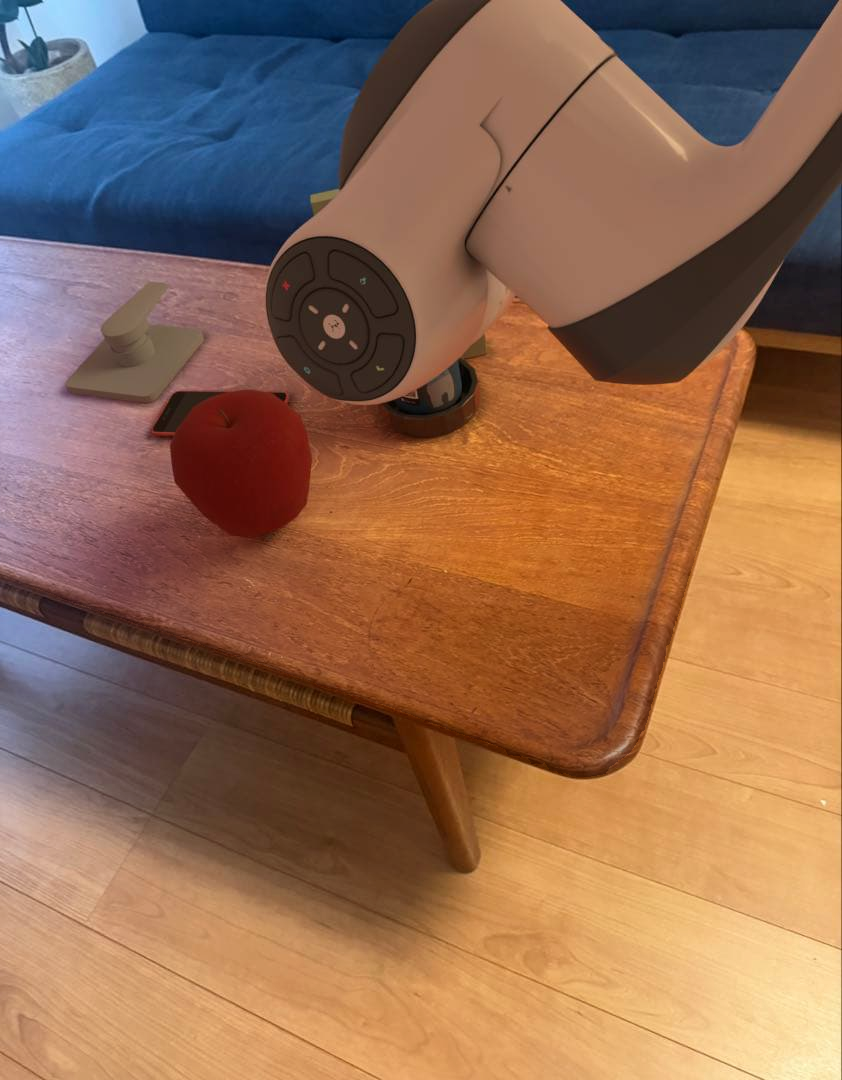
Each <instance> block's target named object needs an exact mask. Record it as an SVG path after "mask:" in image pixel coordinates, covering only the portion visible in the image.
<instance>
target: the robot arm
mask: <svg viewBox="0 0 842 1080" xmlns="http://www.w3.org/2000/svg"><path fill="white" fill-rule="evenodd" d="M618 56H619V55H618V54H617V53H616V50H615V49H614V48H613V47H611V46H610V45H608V44H607V43H606V42H605V41H603V39H601V36H600V35H598V33H596V32H595V31H594V30H593V29H592V28H591V27H590V26H589V25H588V24H586V22H585V21H583V19H582V18H580V17H579V16H578V15H577V14H576V13H575V12H574V11H572V10H571V9H570V7H568V6H567V5H566V4H565V3H564V2H563V1H562V0H431V1H430V2H429V3H428V4H426V5H425V6H424V7H422V8H421V9H420V10H418V11H417V12H416V13H415V14H414V15H413V16H412V17H411V18H410V19H409V20H408V21H407V22H406V23H405V25H403V27H402V28H401V29H400V30H399V31H398V32H397V34H396V35H395V36H394V38H393V39H392V40H391V42H390V43H389V44H388V45H387V47H386V48H385V50H384V51H383V53H382V55H381V56H380V57H379V59H378V60H377V62H376V63H375V65H374V66H373V69H372V70H371V71H370V73H369V74H368V77H367V78H366V80H365V82H364V83H363V85H362V87H361V89H360V91H359V93H358V95H357V98H356V99H355V102H354V104H353V106H352V109H351V111H350V114H349V115H348V118H347V120H346V123H345V126H344V129H343V133H342V138H341V147H340V153H339V162H338V173H337V175H338V176H337V177H338V178H337V181H338V189H339V190H340V192H339V193H338V194H337V195H336V196H335V197H334V198H333V199H332V200H331V201H330V202H329V203H328V204H327V205H326V206H325V207H324V208H323V209H322V210H321V211H320V212H318V213H317V214H316V215H315V216H314V215H313V216H312V217H311V218H309V219H308V220H307V221H306V222H304V223H303V224H302V225H301V226H299V227H298V228H297V229H296V230H295V231H294V232H293V233H292V234H291V235H290V236H289V237H288V238H287V239H286V241H285V242H284V243H283V244H282V246H281V247H280V249H279V251H278V252H277V254H276V255H275V257H274V259H273V260H272V262H271V263H270V266H269V269H268V272H267V275H266V279H265V283H264V291H263V292H264V293H263V295H264V297H263V298H264V299H263V300H264V311H265V316H266V321H267V325H268V328H269V331H270V334H271V336H272V339H273V342H274V344H275V345H276V348H277V350H278V351H279V353H280V355H281V357H282V358H283V359H284V361H285V363H286V364H288V365H289V367H290V368H291V369H292V370H293V371H294V372H295V373H296V374H297V376H299V378H301V379H302V381H304V382H305V383H306V384H308V386H310V387H311V388H313V389H315V390H316V391H317V392H319V393H320V394H321V395H323V396H325V397H327V398H328V399H332V400H335V401H338V402H341V403H345V404H349V405H357V406H371V405H380V403H384V402H388V401H391V400H394V399H397V398H399V397H402V396H404V395H406V394H408V393H410V392H412V391H414V390H416V389H418V388H420V387H422V386H423V385H425V384H427V383H428V382H430V381H431V380H433V379H434V378H436V377H437V376H438V375H440V374H441V373H442V372H444V371H445V370H446V369H447V368H449V367H450V366H451V365H452V364H453V363H455V362H456V361H457V360H458V359H459V358H460V357H461V356H462V355H463V354H464V353H465V352H466V350H467V349H468V348H469V346H470V345H472V344H473V343H475V342H476V341H477V340H478V339H479V338H481V337H482V336H483V335H484V334H485V335H486V333H487V332H488V331H489V330H490V329H491V328H492V327H493V326H494V325H495V324H496V323H497V322H499V320H501V319H502V318H503V316H504V315H505V314H506V313H507V311H508V310H509V308H510V307H511V305H512V304H513V302H514V300H515V298H518V299H519V300H520V301H521V302H522V303H523V304H524V305H525V306H526V307H528V308H529V309H530V310H531V311H532V312H533V313H534V314H535V315H536V316H538V317H539V318H540V319H541V320H542V321H543V322H544V323H545V324H546V325H547V330H548V331H549V332H550V333H551V334H552V335H553V336H554V338H556V340H557V341H558V342H559V343H560V344H561V345H562V346H563V347H564V348H565V350H566V351H568V353H569V354H570V355H571V356H572V357H573V358H574V359H575V360H576V361H577V362H578V363H579V365H580V366H581V367H582V368H583V369H584V370H585V371H586V372H587V374H589V375H590V377H591V378H592V379H593V380H595V381H596V382H602V383H609V384H618V385H633V386H652V385H668V384H676V383H680V382H681V381H683V380H684V379H685V378H687V377H688V376H690V374H692V373H693V372H695V371H697V370H700V368H701V367H703V366H705V365H706V364H707V363H708V362H710V361H711V360H712V359H714V358H715V357H716V356H718V354H719V353H721V351H722V350H723V349H725V348H726V347H727V346H728V344H730V343H731V341H732V340H734V338H735V337H736V336H737V334H738V333H739V332H740V331H741V330H742V329H743V327H744V326H745V325H746V324H747V322H748V321H749V319H750V317H751V316H752V315H753V313H754V312H755V310H756V309H757V307H758V306H759V304H760V303H761V302H762V299H764V296H765V294H766V293H767V291H769V288H770V286H771V284H772V282H773V281H774V280H775V277H776V276H777V274H778V272H779V270H780V269H781V267H782V265H783V263H784V261H785V260H786V258H787V257H788V255H789V254H790V253H791V252H792V250H793V248H794V247H795V246H796V245H797V243H798V242H799V241H800V239H801V238H802V236H803V235H804V234H805V232H806V231H807V229H808V228H809V227H810V225H811V224H812V223H813V222H814V221H815V219H816V217H817V216H818V215H819V213H820V212H821V211H822V210H823V208H824V207H825V206H826V204H827V203H828V202H829V201H830V199H831V198H832V197H833V196H834V194H835V193H836V192H837V190H838V189H839V188H840V186H841V185H842V0H838V1H837V3H836V4H835V6H834V7H833V9H832V10H831V12H830V14H829V15H828V16H827V18H826V20H825V21H824V22H823V24H822V25H821V27H820V28H819V30H818V31H817V32H816V34H815V36H814V37H813V38H812V40H811V41H810V42H809V44H808V46H807V47H806V49H805V51H804V52H803V53H802V55H801V56H800V58H799V59H798V61H797V62H796V64H795V65H794V67H793V69H792V70H791V72H790V73H789V74H788V76H787V77H786V79H785V80H784V82H783V83H782V85H781V86H780V88H779V89H778V91H777V92H776V93H775V95H774V97H773V98H772V100H771V101H770V103H769V104H768V106H767V107H766V109H765V110H764V111H763V112H762V115H761V116H760V117H759V119H758V121H757V122H756V124H755V125H754V126H753V128H751V131H750V132H749V133H748V134H747V136H746V137H745V138H744V139H743V140H741V141H740V142H738V143H737V144H734V145H730V146H729V145H728V146H723V145H719V144H716V143H714V142H711V141H709V140H708V139H707V138H705V137H704V136H703V135H702V134H700V133H699V132H698V131H697V130H696V129H694V127H693V126H691V125H690V124H689V122H687V121H686V120H685V119H684V118H683V117H682V116H681V115H680V114H679V113H677V111H676V110H675V109H674V108H672V107H671V106H670V105H669V104H668V103H667V102H666V101H665V100H664V99H663V98H662V97H661V96H659V94H658V93H656V92H655V90H653V89H652V88H651V87H650V86H649V85H648V84H647V83H646V82H645V81H644V80H643V79H641V77H639V76H638V75H637V74H636V73H635V72H634V71H633V70H632V69H631V68H630V67H629V66H628V65H627V64H625V63H624V61H623V60H621V59H620V58H619V57H618Z"/></svg>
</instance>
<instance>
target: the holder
mask: <svg viewBox="0 0 842 1080" xmlns="http://www.w3.org/2000/svg"><path fill="white" fill-rule="evenodd" d="M458 364H459V370H460V377H461V383H462V391H461V394H460V396H459V399H458V400H457V402H456V404H455V405H454V406H453V407H451V408H449V409H447V410H445V411H443V412H439V413H434V414H429V415H425V416H424V415H408V414H406V413H405V412H404V411H402V410H401V409H400V408H399V407H398V406H397V405H396V403H395V401H394V400H391V401H388V402H384V403H380V404H379V407H380V412H381V415H382V418H383V420H384V422H385V423H386V424H387V426H388V427H389V428H390V429H391V430H393V431H394V432H396V433H398V434H400V435H402V436H405V437H409V438H410V437H411V438H414V439H415V438H417V439H429V438H436V437H442V436H445V435H448V434H450V433H453V432H455V431H457V430H459V429H461V428H462V427H464V426H465V425H467V424H468V423H469V422H470V421H471V420H472V419H473V417H474V416H475V415H476V414H477V412H478V409H479V407H480V404H481V403H480V402H481V391H480V383H479V379H478V374H477V371H476V368H474V367H473V366H472V365H471V364H470V363H469V362H468V361H467V360H465V359H461V358H459V359H458Z"/></svg>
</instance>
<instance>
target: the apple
mask: <svg viewBox="0 0 842 1080" xmlns="http://www.w3.org/2000/svg"><path fill="white" fill-rule="evenodd" d="M231 391H232V392H226V393H223V394H220V395H216V396H213V397H210V398H208V399H206V400H204V401H202V402H201V403H199V404H197V405H195V406H194V407H193V408H192V410H191V411H190V412H189V413H188V415H187V416H186V417H185V418H184V420H183V421H182V422H181V424H180V425H179V426H178V428H177V429H176V431H175V434H174V436H172V439H171V442H170V444H169V450H170V461H171V469H172V474H173V475H172V476H173V481H174V483H175V485H176V486H177V487H178V488H179V489H180V491H181V492H182V493H183V494H184V496H185V497H186V498H187V499H188V500H189V501H190V502H191V504H192V505H193V506H194V507H195V508H196V509H197V511H199V512H200V514H202V515H203V516H204V517H205V519H207V520H208V521H210V522H211V523H212V524H214V525H215V526H216V527H218V528H219V529H221V530H223V532H225V533H226V534H228V535H229V536H233V537H241V538H250V537H251V538H252V537H256V536H257V537H258V536H263V535H266V534H269V533H271V532H274V531H277V530H279V529H282V528H284V527H285V526H286V525H288V524H289V523H290V522H292V521H293V520H295V519H297V517H298V516H299V515H300V513H301V512H302V511H304V508H306V506H307V504H308V498H309V492H310V483H311V474H312V464H313V458H312V452H311V446H310V441H309V437H308V433H307V429H306V426H305V423H304V421H303V418H302V416H301V415H300V413H298V412H297V411H296V410H295V409H293V408H292V407H291V406H290V405H289V404H286V403H285V402H284V401H282V400H281V399H279V398H278V397H276V396H275V395H274V394H272V393H268V392H269V391H262V390H258V389H239V390H234V391H233V390H231Z"/></svg>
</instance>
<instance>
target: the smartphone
mask: <svg viewBox="0 0 842 1080" xmlns="http://www.w3.org/2000/svg"><path fill="white" fill-rule="evenodd" d="M232 391H233V390H177V391H174V392H173V393H171V395H170V396H169V398H168V400H167V402H166V403H165V405H164V406H163V408H162V409H161V411H160V413H159V415H158V417H157V418H156V420H155V421H154V423H153V425H152V427H151V430H150V431H151V433H152V435H154V436H156V437H157V436H158V437H160V436H161V437H173V436H174V434H175V431H176V429H177V428H178V426H179V425H180V424H181V422H182V421H183V420H184V418H185V417H186V416H187V415H188V413H189V412H190V411H191V410H192V408H193V407H194V406H195V405H197V404H199V403H201V402H202V401H204V400H206V399H208V398H210V397H213V396H216V395H220V394H223V393H226V392H232ZM267 392H268V393H272V394H274V395H275V396H276V397H278V398H279V399H281V400H282V401H284V402H285V403H286V404H287V405H289V401H290V395H289V394H288V392H286V391H267Z"/></svg>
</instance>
